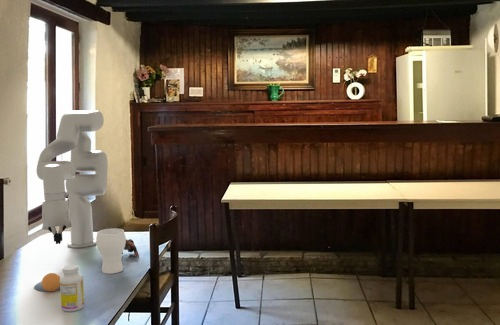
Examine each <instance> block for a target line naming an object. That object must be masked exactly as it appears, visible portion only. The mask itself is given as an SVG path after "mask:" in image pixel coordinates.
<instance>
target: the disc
mask: <svg viewBox="0 0 500 325" xmlns="http://www.w3.org/2000/svg"><path fill="white" fill-rule="evenodd" d="M33 288H34V289H35V290H36V291H39V292H47V291H46V290H45V289H44V288H43V287H42V281H40V282H38V283H36V284H35V285H34V287H33ZM56 291H57V292H58V291H60V286H59V288H58V289H57V290H55V291H54V292H56Z"/></svg>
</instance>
